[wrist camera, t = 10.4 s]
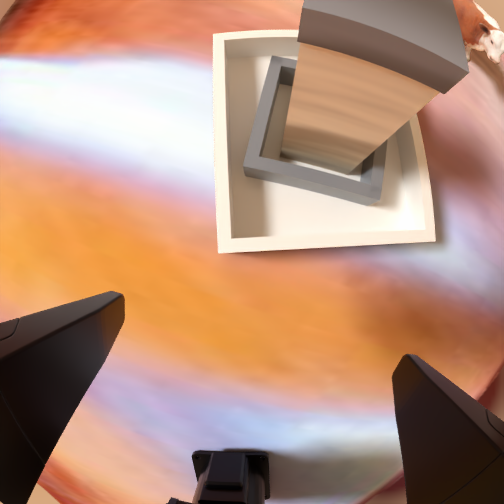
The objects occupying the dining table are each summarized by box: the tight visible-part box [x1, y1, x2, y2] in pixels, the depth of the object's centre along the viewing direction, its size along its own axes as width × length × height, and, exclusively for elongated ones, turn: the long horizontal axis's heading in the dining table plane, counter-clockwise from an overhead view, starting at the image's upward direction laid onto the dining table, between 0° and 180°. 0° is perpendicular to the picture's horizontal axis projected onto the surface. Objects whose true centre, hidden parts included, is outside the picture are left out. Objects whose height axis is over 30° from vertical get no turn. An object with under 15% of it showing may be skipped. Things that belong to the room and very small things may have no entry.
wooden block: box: [280, 0, 469, 175], centre depth 12 cm, size 5×5×14 cm
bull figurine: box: [452, 0, 504, 64], centre depth 16 cm, size 4×13×8 cm, turn 14°
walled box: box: [213, 30, 436, 253], centre depth 19 cm, size 16×14×4 cm
